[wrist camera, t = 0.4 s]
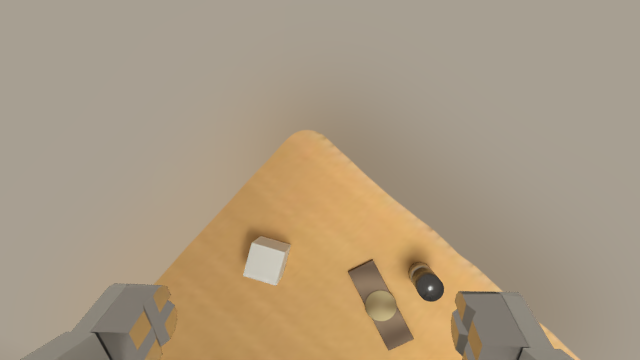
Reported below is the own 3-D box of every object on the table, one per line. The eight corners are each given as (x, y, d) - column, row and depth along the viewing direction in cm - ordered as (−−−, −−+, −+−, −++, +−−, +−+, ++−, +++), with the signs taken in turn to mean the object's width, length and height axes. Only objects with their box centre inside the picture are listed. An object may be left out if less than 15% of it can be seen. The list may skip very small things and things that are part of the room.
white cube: (283, 274, 63) (276, 285, 57) (252, 265, 63) (242, 276, 57) (291, 244, 62) (285, 252, 56) (260, 235, 63) (251, 242, 57)
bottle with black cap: (435, 278, 60) (448, 294, 52) (415, 287, 61) (425, 305, 53) (424, 258, 60) (436, 272, 52) (404, 268, 61) (413, 283, 53)
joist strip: (414, 336, 61) (415, 338, 60) (386, 349, 61) (387, 351, 61) (374, 258, 61) (374, 259, 60) (346, 272, 62) (346, 273, 61)
